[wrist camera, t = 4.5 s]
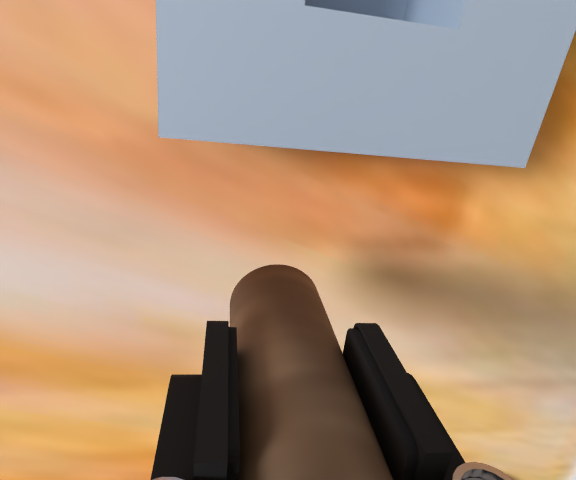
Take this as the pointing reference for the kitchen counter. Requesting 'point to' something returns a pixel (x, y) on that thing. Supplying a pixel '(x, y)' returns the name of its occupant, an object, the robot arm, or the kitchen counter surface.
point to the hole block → (363, 74)
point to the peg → (296, 386)
